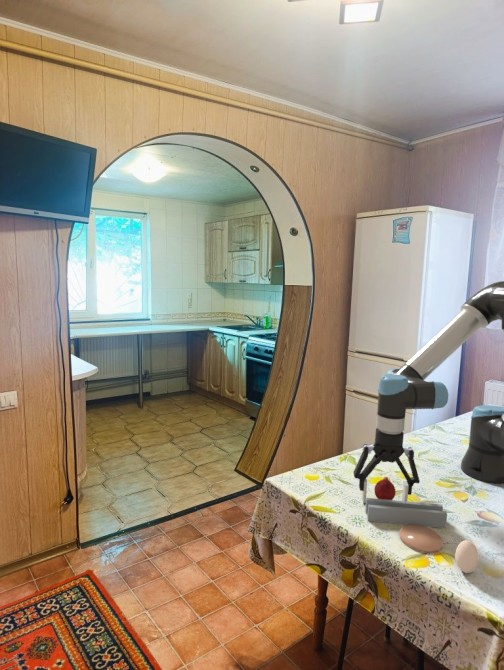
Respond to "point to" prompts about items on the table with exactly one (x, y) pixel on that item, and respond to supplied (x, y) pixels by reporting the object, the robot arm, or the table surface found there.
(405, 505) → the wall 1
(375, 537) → the table surface
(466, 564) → the egg
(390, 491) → the onion
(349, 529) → the table surface
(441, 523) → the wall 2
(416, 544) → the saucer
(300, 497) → the table surface
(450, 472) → the table surface
